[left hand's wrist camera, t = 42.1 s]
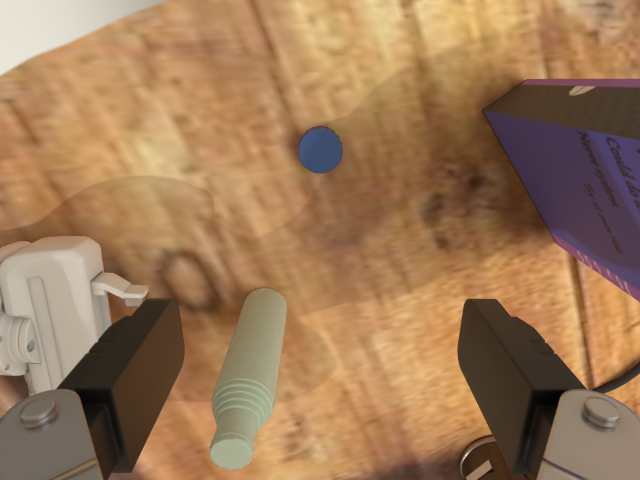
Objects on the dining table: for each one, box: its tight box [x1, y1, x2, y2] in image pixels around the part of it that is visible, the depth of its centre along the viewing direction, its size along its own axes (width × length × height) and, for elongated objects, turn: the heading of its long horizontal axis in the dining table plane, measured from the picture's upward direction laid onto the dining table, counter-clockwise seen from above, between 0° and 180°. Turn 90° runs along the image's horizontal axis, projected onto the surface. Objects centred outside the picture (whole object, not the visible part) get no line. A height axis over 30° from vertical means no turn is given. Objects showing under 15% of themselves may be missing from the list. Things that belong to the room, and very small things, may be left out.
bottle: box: [210, 288, 288, 470], centre depth 38 cm, size 5×5×20 cm
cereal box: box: [482, 79, 640, 302], centre depth 30 cm, size 17×5×24 cm, turn 36°
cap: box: [298, 127, 343, 173], centre depth 40 cm, size 4×4×2 cm
